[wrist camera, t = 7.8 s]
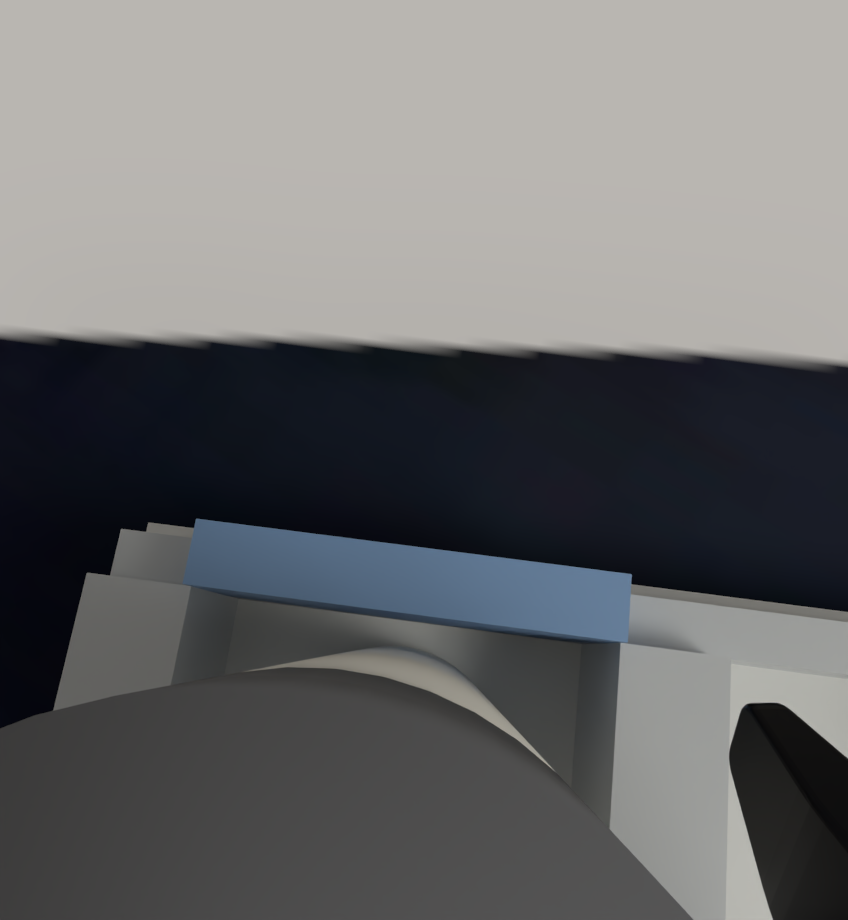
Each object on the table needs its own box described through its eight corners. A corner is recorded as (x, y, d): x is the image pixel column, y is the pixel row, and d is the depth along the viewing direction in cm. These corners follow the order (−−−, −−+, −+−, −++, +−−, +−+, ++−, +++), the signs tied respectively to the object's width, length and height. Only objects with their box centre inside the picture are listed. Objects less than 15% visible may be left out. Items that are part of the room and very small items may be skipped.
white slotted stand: (1150, 1094, 15) (1471, 1292, 10) (70, 930, 16) (-76, 1046, 11) (1104, 648, 17) (1352, 648, 13) (160, 527, 18) (67, 485, 14)
